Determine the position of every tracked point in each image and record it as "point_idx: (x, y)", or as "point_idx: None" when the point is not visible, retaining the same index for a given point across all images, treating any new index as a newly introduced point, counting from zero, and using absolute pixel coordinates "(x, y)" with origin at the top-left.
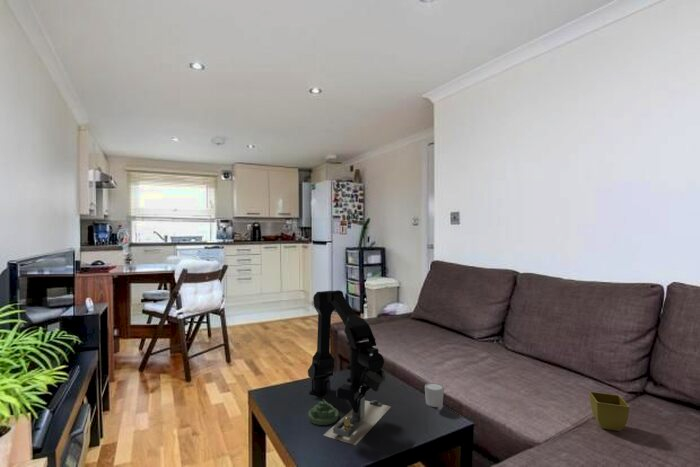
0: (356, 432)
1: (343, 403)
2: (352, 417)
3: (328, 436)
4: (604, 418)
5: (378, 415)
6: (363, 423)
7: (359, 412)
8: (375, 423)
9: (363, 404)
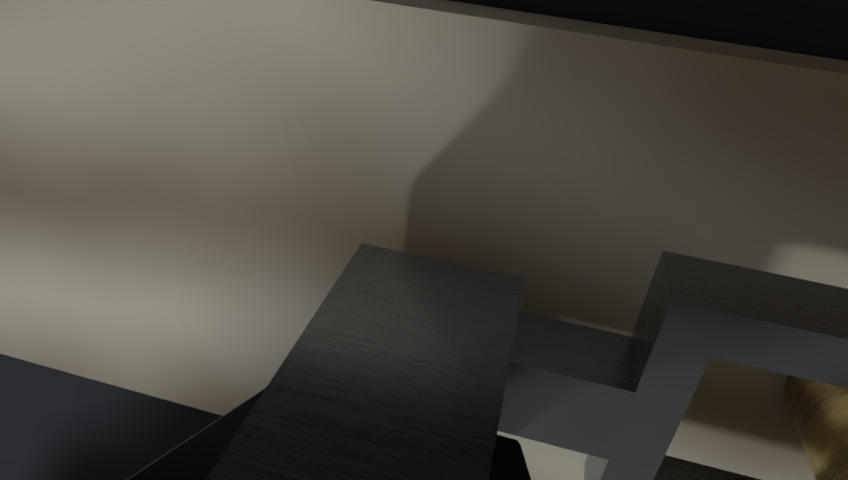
0: (838, 257)
1: (118, 475)
2: (582, 443)
3: None
4: None
5: (128, 38)
6: (485, 213)
7: (501, 407)
8: (405, 7)
9: (306, 448)
